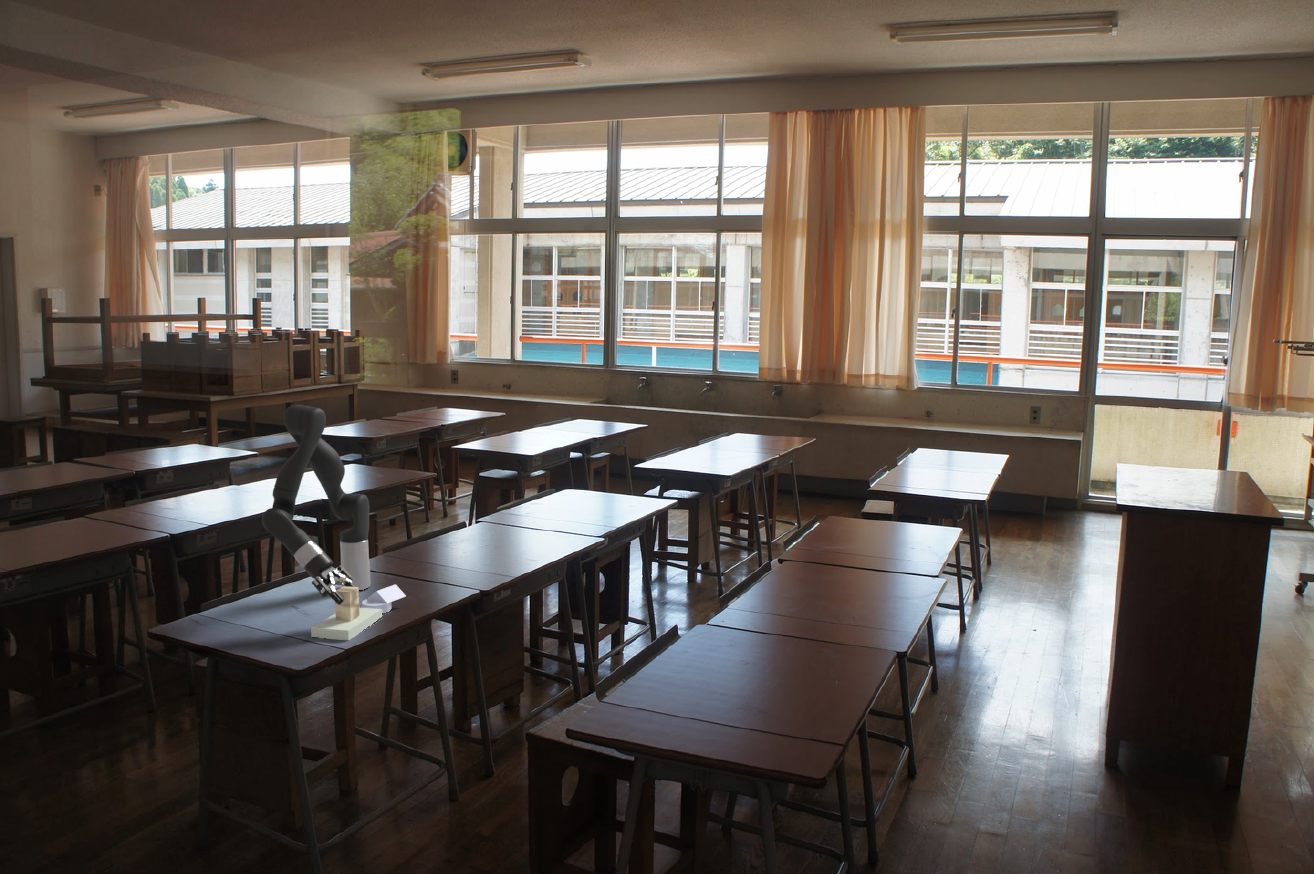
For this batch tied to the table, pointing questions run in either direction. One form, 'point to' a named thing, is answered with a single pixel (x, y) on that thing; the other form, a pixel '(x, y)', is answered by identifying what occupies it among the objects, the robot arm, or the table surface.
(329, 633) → the sage board
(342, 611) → the birch block
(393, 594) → the wedge on round base
